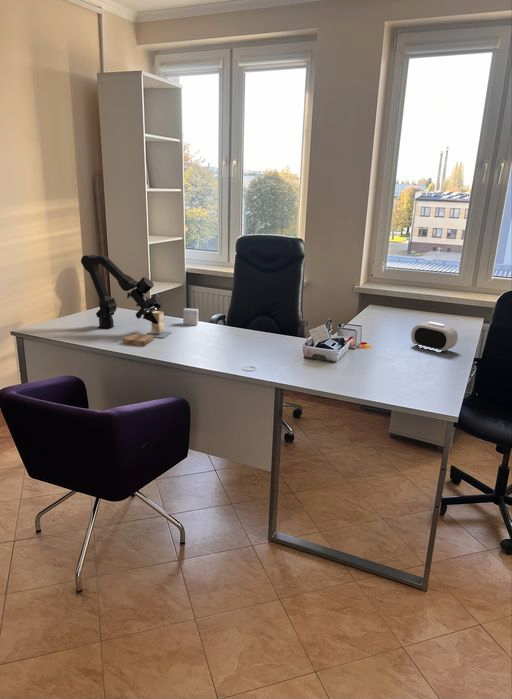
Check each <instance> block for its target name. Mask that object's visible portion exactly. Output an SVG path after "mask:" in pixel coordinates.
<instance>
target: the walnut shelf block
mask: <svg viewBox="0 0 512 699" xmlns="http://www.w3.org/2000/svg"><path fill="white" fill-rule="evenodd" d="M146 334H147V333H135V332H134V333H133V332H132V333H131V334H129V335H127V336H125V337H124V338H123V339H122V344H123V345H127V346H128V345H130V346H136V347H137V346H140V347H145V346H146V347H147V345H149V344H150V343H152V342H153V341H154V338H153V335H146Z"/></svg>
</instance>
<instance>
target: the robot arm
mask: <svg viewBox="0 0 512 699" xmlns="http://www.w3.org/2000/svg"><path fill="white" fill-rule="evenodd" d="M80 263H81V265H82V266H83V268H84V270H85V271H86V272H88V274H89V276H90V278H91V280H92V284H93V286H94V288H95V291H96V294H97V297H98V299H99V304H98V306H99V310H98V311H97V312H96V313H95V314H96V318H98V327H97V329H103V330H104V329H106V330H110V329H112V328H113V327H115V325H114V318H113V316H114V314H115V312H116V311H117V308H118V306H117V303H116V300H115V298H114V297H113V298H112V297H110V296H109V294H108V291H107V290H108V289H107V288H106V286H105V283H104V281H103V278H102V276H101V273H100V269H99V268H100V265H101V266H102V267H103V268H104V269H105V270H106V271H107V272H108V273H109V274H110V275H112V277H113V278H114V279H116V281H117V283H118V286H119V287H120V289H122V290H123V291H124V292H127V294H126V299H129V298H131V299H133V301H134V302H135V303H136V305H135V306H136V307H139V308H140V309H138V311H137V312H136V313H135V317H136V318H137V319H138V320H139V319H141V318H142V319H143V320H146V321H148V322H150V323H152V322H153V323H155V324H158V322H157V320H156V319H155V317H154V316H153V314H152V312H154V311H161V308H162V307H163V306H164V304H163V303H162V302H161V295H159V294H158V293H155V294H153V296H152V297H149V296H146V294H148V293H149V291H151V289H153V288H154V286H155V285H154V283H153V281H152V280H150V278H147V277H146V276H143V277H141V279H140V280H139V281H137V280H135V279H134V278H133V277H131V276H130V275H128V274H125V273H124V272H123V271H122V270H121V269H120V268H119V267H118V266H117V265H116V264H115V263H114V262H113V261H112V260H111V259H110V258H109V257H108V256H107V255H95V254H93V253H92V254H86V255H83V256H82V257H81V259H80ZM128 291H129V292H128ZM142 316H143V317H142Z"/></svg>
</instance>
